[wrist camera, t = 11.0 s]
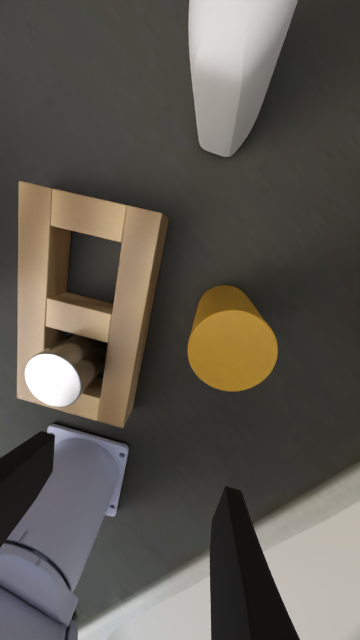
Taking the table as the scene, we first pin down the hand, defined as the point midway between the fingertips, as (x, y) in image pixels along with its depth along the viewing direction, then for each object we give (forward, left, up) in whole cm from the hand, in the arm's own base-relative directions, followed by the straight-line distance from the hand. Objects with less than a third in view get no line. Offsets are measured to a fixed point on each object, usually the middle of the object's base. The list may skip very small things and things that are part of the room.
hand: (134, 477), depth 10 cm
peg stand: (+3, +7, -10) cm, 13 cm away
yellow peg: (+5, -3, -10) cm, 12 cm away
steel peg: (-1, +7, -10) cm, 13 cm away
